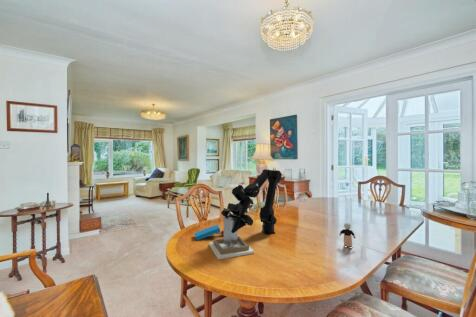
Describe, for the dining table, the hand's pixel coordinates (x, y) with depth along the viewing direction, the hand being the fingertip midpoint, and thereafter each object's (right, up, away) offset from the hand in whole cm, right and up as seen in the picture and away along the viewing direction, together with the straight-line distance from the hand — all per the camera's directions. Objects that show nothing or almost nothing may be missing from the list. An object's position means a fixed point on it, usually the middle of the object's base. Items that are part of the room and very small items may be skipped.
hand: (228, 231), depth 113 cm
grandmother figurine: (+62, -9, +4) cm, 63 cm away
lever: (-11, -10, +19) cm, 24 cm away
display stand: (+1, -9, +1) cm, 9 cm away
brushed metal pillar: (+1, -7, +1) cm, 7 cm away
